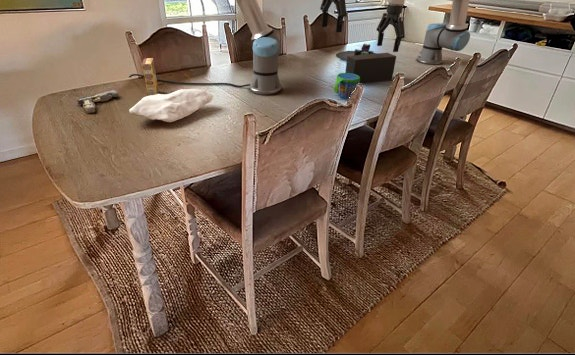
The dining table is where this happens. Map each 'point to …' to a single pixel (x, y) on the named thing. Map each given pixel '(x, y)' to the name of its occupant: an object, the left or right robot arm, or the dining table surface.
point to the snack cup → (346, 84)
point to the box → (371, 67)
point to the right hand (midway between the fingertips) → (387, 48)
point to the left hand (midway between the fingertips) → (331, 29)
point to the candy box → (150, 76)
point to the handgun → (95, 100)
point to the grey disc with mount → (355, 52)
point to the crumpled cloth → (171, 104)
